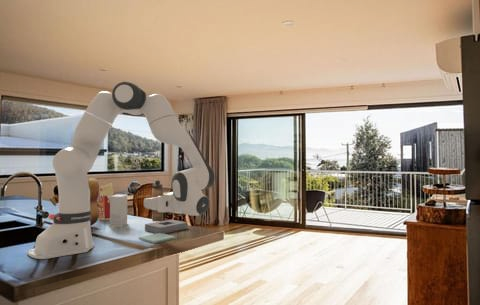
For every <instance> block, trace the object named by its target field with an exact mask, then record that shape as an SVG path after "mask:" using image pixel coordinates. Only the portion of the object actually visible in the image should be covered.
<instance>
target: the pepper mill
mask: <svg viewBox="0 0 480 305" xmlns="http://www.w3.org/2000/svg"><path fill="white" fill-rule="evenodd" d="M154 183H155V184H152V188H151V196H152V197H151V198H153V197H158V196H160V195H164V188H163V184H162V183H161V180H159V179H156V180H155V181H154ZM151 211H152V212H151V214H152V218H151V219H152V222H160V221H164V212H158V210H151Z"/></svg>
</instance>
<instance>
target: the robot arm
mask: <svg viewBox="0 0 480 305" xmlns="http://www.w3.org/2000/svg"><path fill="white" fill-rule="evenodd" d="M120 114H122V115H124V116H125V115H126V116H130V117H131V116H132V117H142V116H144V117H145V119H146V120H147V121H146V122H147V124H148V127H149V129H150V132H151V133H152V135H153V137H154V138H155V139H156V140H157V141H159V142H161V143H163V144H166V145H173V146H176V147H179V148H180V149H182V150H183V151H184V153H185V155H186V157H187V159H188V160H189V162H190V163H191V166H192V167H190V168H187V169H184V170H180V171H177V172H175V173H174V174H173V176H172V178H171V192H167V193H166V194H163V195H160V196H158V197H153V198H152V197H146V198H144V199H143V207H144V209H148V210H151V211H152V210H158V212H163V213H172V214H179V215H186V216H192V217H193V216H194V217H195V216H197V217H198V216H201V215H204V214H205V213H206V212H207V211H208V210H209V207H210V199H209V197H208V196H207V195H206V194H204V193H203V192H202V191H203V190H207V189H211V187H212V186H213V185H214V183H215V179H216V177H215V171H214V170H213V168H212V167H211V166H210V164H209V163H208V161H207V160H206V158H205V157H204V155H203V153H202V152H201V150H200V148H199V146H198V144H197V143H196V141H195V139H194V138H193V136H192V134H191V133H190V132H189V131H188V130H186V129H185V128H184V127H183V125H181V123H180V121H179V120H178V118H177V116H176V113H175V111H174V108H173V107H172V105H171V103H170V101H169V100H168V99H167V97H166V96H165V95H164V94H161V93H153V94H151V95H147V94H146V92H145V91H144V90H142V88H140V87H139V85H136V84H135V83H132V82H130V81H122V82H118V83H117V84H116V85H115V86H114V87H113V89H112V92H110V91H99V92H98V93H97V94H96V95H95V96H94V98H93V99H92V100H91V101H90V102H89V104H88V106H87V107H86V109H85V111H84V112H83V114H82V115H81V118H80V120H79V122H78V123H77V124H76V127H75V129H74V134H73V138H72V139H71V143H70V145H69V147H65V148H62V149H61V150H59V151H58V152H57V153H56V154H55V155H54V156H53V159H52V167H53V170H54V171H55V180H56V183H57V184H56V185H57V190H58V212H57V213H56V214H54V213H50V214H48V219H49V220H52V221H53V223H52V224H50V225H49V226H48V227H47V228H46V229H45V230H43V231H42V232H41V233H40V234H38V235H37V237H36V239H35V245H34V248H31V249H29V250H28V251H27V252H28V253H27V255H28V256H29V257H31V258H33V259H38V260H47V259H52V258H53V259H54V258H58V257H66V256H71V255H76V254H83V253H87V252H89V251H90V250H91V249H93V248H94V247H95V242H94V239H93V235H92V226H91V225H90V224H91V210H90V189H89V185H88V178H89V177H88V173H89V172H90V171H91V169H93V166H94V164H95V161H96V159H97V157H98V155H99V153H100V150H101V148H102V144H103V142H104V140H105V138H106V137H107V135H108V133H109V131H110V129H111V127H112V126H113V124H114V122H115V120H116V118H117V117H118V116H119V115H120Z"/></svg>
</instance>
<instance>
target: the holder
mask: <svg viewBox="0 0 480 305" xmlns="http://www.w3.org/2000/svg"><path fill="white" fill-rule="evenodd" d="M187 229H188V222H187V221H182V220H176V219H166V220H163V221H154V222H151V223H150V222H149V223H145V224H144V231H147V232H150V233H153V234H157V233H163V234H168V233H173V232H176V231H182V230H187Z"/></svg>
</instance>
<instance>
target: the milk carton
mask: <svg viewBox="0 0 480 305" xmlns="http://www.w3.org/2000/svg"><path fill="white" fill-rule="evenodd" d="M113 195H115V191H114V188H113V183H112V182H111V183H108V184H106V185H101V186H100V185H99V195H98V197H99V198H98V209H99V218H98V220H101V221H107V220H109V221H110V196H113Z"/></svg>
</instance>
